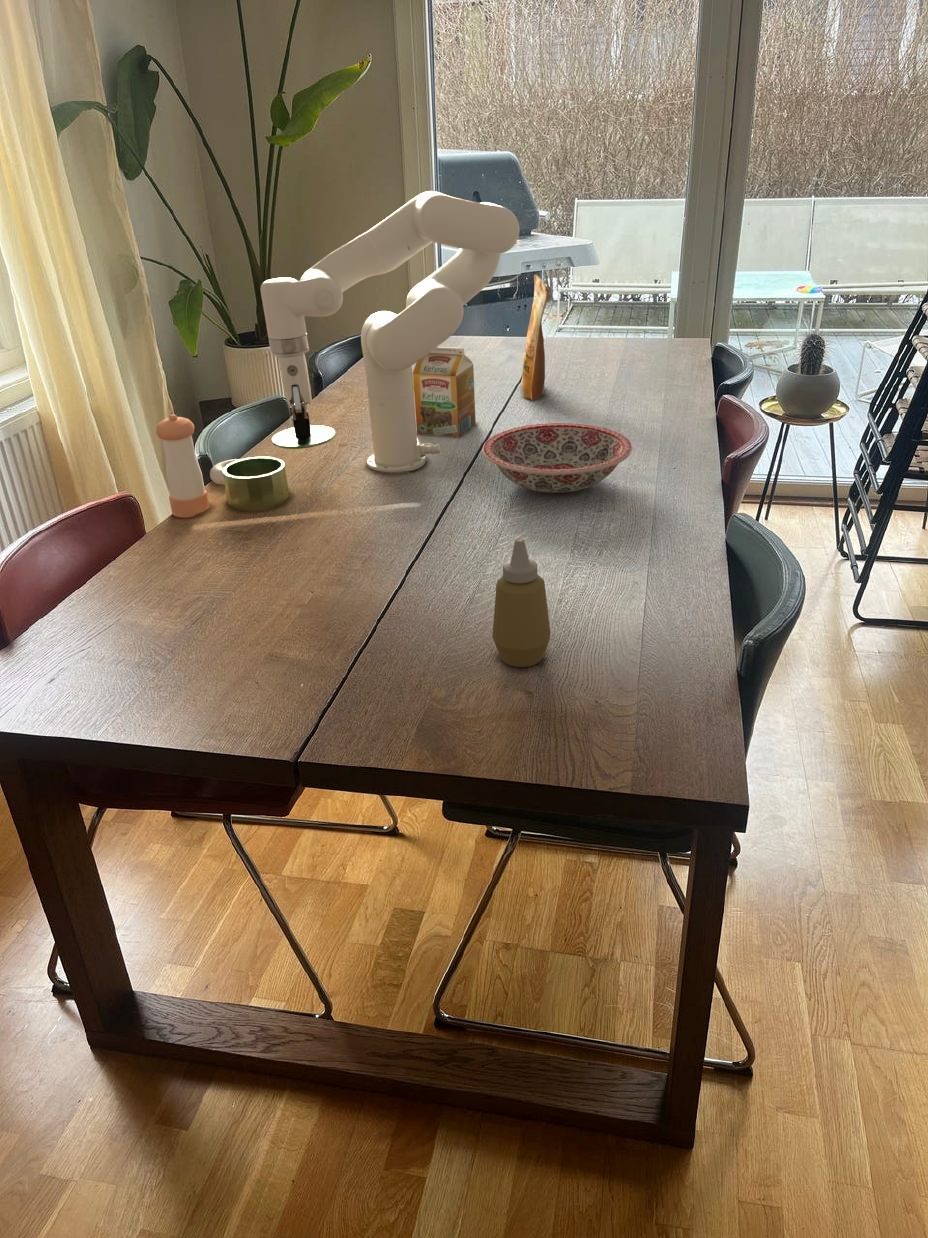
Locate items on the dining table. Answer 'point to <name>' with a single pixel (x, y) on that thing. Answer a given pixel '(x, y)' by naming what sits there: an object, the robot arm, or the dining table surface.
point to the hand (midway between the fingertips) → (303, 433)
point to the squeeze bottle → (521, 611)
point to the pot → (255, 482)
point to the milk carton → (444, 393)
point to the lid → (317, 438)
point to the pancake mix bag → (535, 345)
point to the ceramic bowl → (557, 455)
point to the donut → (220, 471)
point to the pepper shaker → (182, 467)
